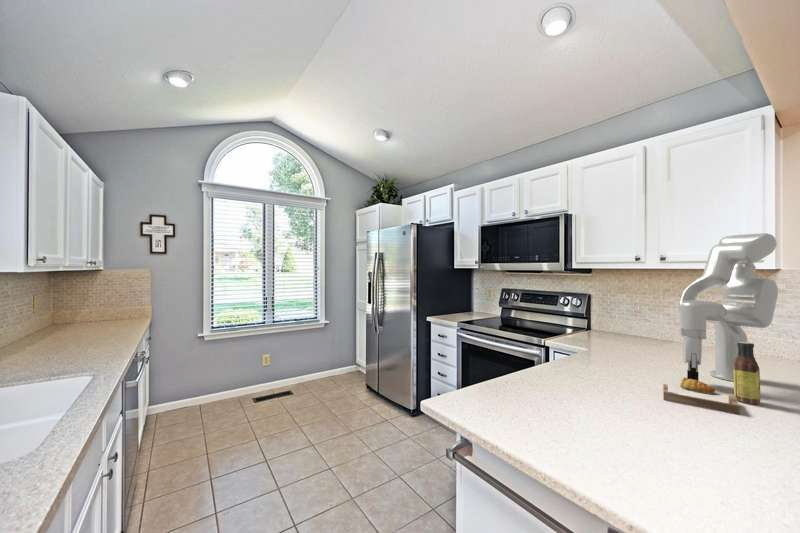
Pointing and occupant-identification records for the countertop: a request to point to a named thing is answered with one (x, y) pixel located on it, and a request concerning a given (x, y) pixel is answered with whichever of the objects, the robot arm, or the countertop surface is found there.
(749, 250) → the robot arm
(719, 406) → the open wooden frame
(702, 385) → the pastry
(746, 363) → the sauce bottle
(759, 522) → the countertop surface
